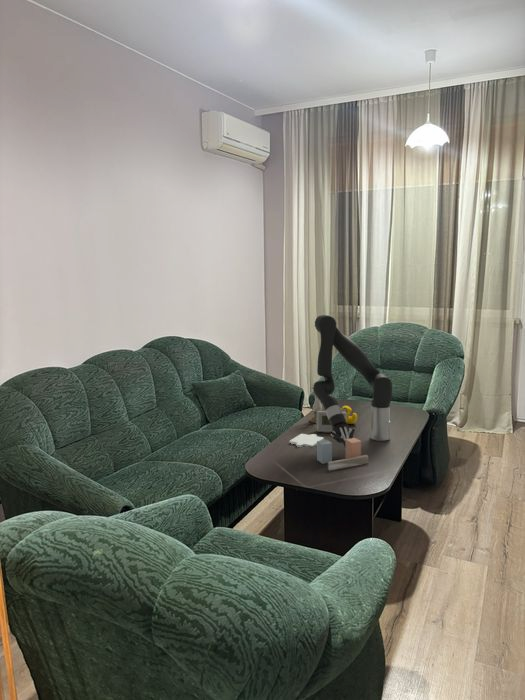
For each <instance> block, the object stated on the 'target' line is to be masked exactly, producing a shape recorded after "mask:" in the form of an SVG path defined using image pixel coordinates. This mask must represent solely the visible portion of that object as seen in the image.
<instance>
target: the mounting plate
mask: <svg viewBox="0 0 525 700" xmlns="http://www.w3.org/2000/svg"><path fill="white" fill-rule="evenodd" d="M321 440H325V437H322V436H318V435H317V434H316V433H312V434H305V433H300V434H298V435H297V436H295V437H293V438H292V439H290V440H289V443H291V444H290V445H293V444H296V445H295V447H296V446H297V447H296V448H298V447H302V448H304V447H303V446H306V447H305V448H307V447H310V448H311V447H313V448H314V447H315V446H317V441H321ZM289 443H288V444H289Z"/></svg>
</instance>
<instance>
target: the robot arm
mask: <svg viewBox="0 0 525 700" xmlns="http://www.w3.org/2000/svg"><path fill="white" fill-rule="evenodd" d="M314 327H315V329H316V330H317V332H318V333H319V334H320V347H319V351H318V355H317V367H316V368H317V370H316V371H317V375H318V376H320V377H323V378H324V380H319V381H315V382H314V384H313V385H314V386H313V389H312V390H313V393H314V395H316V396H317V397H318V399H319V400H320V402H321V405H322V407H323V408H324V411H326V414H327V417H328V420H329V422H330V424H331V427H332V428H333V432H332V433H331V432H330V434H329V436H330V437H331V438H332V439H334V440H335V441H336V442H337V443H340V444H343V447H344V449H345V450H346V439H351V438H354V433H355V429H354V428H350V426H349V424H347V422H346V419H345V417H344V415H343V412H342V410H341V409H342V407H340V404H339V402H338V399H337V398H336V397H335V396H333V395H332V394H334V392H335V386H336V385H335V381H334V377H333V373H332V372H333V371H332V369H333V347H334V348H335V350H336V351H337V352H338V353H339V354H340V355H341V356H342V357H343V359H344V360H345V361H346V362H347V363H348V364H349V365H350V366H351V367H353V369H355V370H356V371H357V372H358V373H360V375H362V376H363V378H364V379H365V380H366V381H367V383H368V384H369V385H370V387H371V389H372V390H373V398H372V400H371V402H370V404H371V406H370V409H371V410H370V439H371V440H373V441H377V442H386V441H388V440H391V425H392V423H391V421H390V414H391V413H390V412H391V410H390V409H391V401H392V395H393V382H392V380H391V379H390V377H388V376H386V375H385V374H383V373H382V372H381V371H379V370H378V369H377V367H375V365H373V364H372V362H371V361H370V359H369V358H368V356H367V354H366V353H365V352H364V350H362V348H361V347H360V346H359V344H357V343H356V342H355V341H353V340H352V339H351V338H349V337H348V336H347V335H346V334H344V333H343V332H342V331H341V330H340V329H339V328H338V327H337V321H336V319H335V317H333V316H332V315H329V314H320V315H318V316H317V317H316V318H315V321H314Z"/></svg>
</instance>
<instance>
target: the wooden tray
mask: <svg viewBox="0 0 525 700" xmlns="http://www.w3.org/2000/svg"><path fill="white" fill-rule="evenodd" d="M366 464H369V455H367V454H364V455H361V456H358V457H353V458H348V459H346V458H343V459H338V460H332V462H328V463H327V471H330V472H331V471H335V470H339V469H340V470H341V469H345V468H351V467H355V466H360V465H366Z"/></svg>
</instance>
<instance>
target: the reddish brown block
mask: <svg viewBox="0 0 525 700" xmlns="http://www.w3.org/2000/svg"><path fill="white" fill-rule="evenodd" d="M344 453H345V457H344V459H348V458H353V457H358V456H362V455H361V454H362V441H361V440H360V439H358V438H356V437H353V438H351V439H346V449H345V452H344Z"/></svg>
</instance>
